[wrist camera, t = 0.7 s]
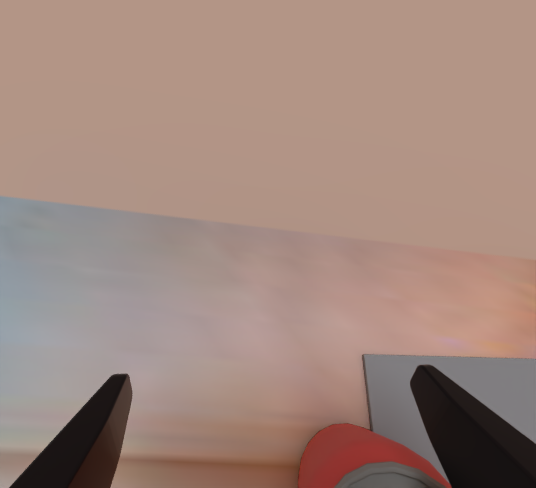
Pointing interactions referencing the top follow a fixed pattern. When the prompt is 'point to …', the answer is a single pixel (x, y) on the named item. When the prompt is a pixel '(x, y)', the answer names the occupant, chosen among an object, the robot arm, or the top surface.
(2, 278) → the top surface
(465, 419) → the robot arm
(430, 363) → the mat
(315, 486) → the beer can
